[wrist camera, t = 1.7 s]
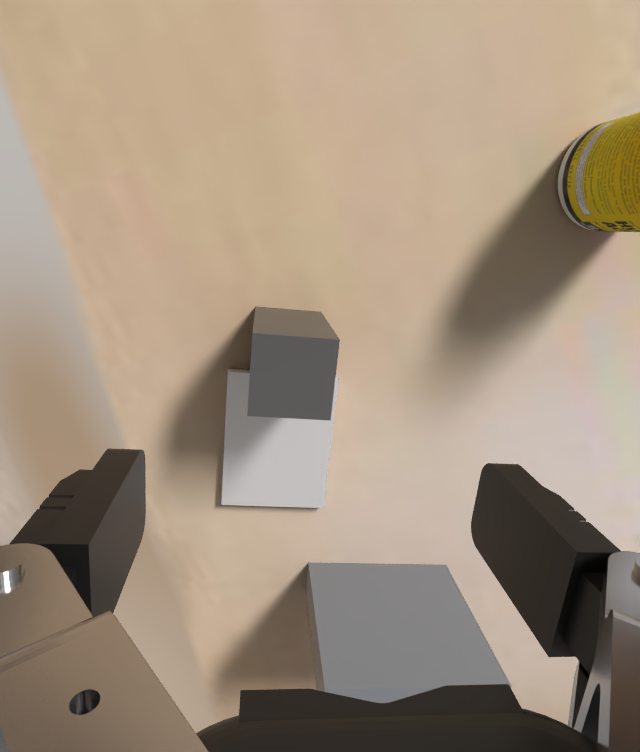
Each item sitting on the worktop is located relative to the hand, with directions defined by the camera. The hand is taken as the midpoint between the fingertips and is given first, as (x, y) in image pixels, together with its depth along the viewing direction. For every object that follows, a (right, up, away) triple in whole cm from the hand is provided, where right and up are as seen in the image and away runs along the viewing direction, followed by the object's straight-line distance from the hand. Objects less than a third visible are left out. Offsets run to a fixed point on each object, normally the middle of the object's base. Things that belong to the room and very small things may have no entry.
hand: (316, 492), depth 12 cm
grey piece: (-2, +1, +16) cm, 17 cm away
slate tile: (+4, -10, +20) cm, 23 cm away
